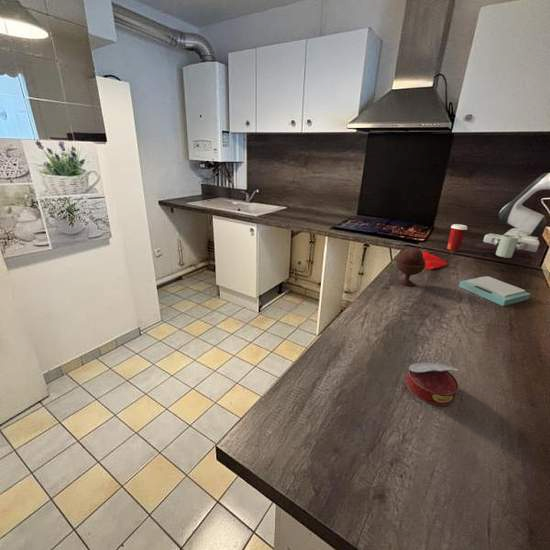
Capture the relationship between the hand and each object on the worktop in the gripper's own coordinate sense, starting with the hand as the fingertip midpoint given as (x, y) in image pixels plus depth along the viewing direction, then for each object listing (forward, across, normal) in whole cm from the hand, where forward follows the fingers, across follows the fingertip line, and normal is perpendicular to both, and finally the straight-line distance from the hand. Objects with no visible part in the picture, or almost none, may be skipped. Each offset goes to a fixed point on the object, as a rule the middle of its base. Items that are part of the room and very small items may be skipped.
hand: (507, 245), depth 130 cm
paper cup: (-17, -24, +12) cm, 32 cm away
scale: (+30, +4, +12) cm, 33 cm away
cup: (-1, 0, +5) cm, 5 cm away
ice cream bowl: (+48, -22, +12) cm, 55 cm away
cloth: (+12, -25, +12) cm, 31 cm away
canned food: (+101, +6, +12) cm, 102 cm away
